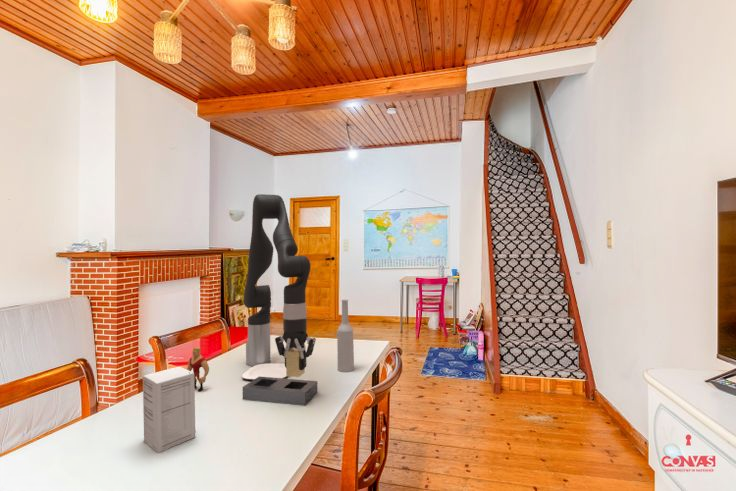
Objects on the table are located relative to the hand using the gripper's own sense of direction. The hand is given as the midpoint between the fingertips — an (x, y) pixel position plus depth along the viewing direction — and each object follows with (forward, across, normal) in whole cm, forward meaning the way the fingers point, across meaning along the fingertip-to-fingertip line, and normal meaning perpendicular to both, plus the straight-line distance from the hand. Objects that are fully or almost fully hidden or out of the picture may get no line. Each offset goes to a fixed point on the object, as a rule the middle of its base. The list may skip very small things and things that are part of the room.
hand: (295, 368), depth 117 cm
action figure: (+9, -38, -1) cm, 39 cm away
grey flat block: (+9, -6, 0) cm, 11 cm away
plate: (+10, -21, +19) cm, 30 cm away
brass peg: (+2, 0, 0) cm, 2 cm away
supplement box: (+10, -21, -31) cm, 38 cm away
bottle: (+9, +7, +30) cm, 33 cm away
